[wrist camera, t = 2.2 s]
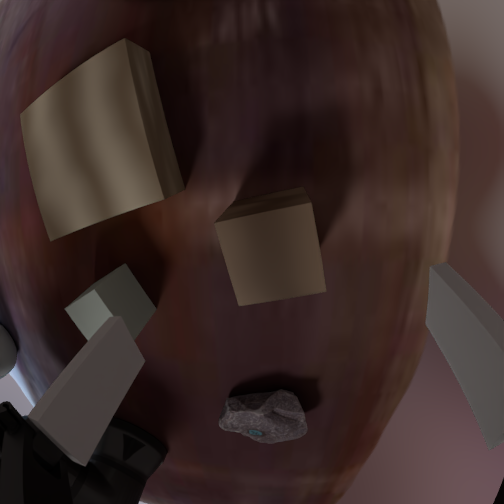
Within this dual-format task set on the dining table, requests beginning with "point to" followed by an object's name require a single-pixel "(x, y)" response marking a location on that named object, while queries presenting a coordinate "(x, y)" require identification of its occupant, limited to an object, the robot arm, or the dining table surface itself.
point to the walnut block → (271, 247)
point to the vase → (6, 352)
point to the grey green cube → (112, 303)
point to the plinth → (100, 142)
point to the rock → (265, 416)
